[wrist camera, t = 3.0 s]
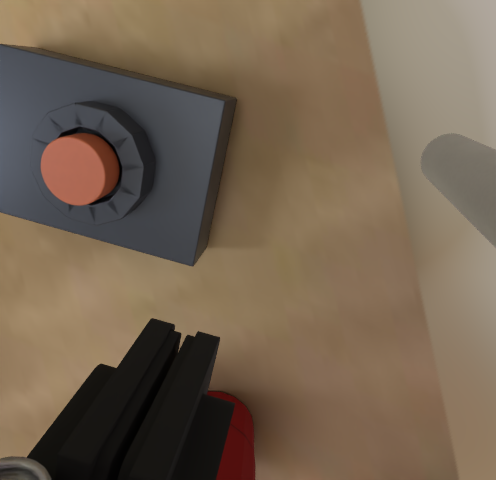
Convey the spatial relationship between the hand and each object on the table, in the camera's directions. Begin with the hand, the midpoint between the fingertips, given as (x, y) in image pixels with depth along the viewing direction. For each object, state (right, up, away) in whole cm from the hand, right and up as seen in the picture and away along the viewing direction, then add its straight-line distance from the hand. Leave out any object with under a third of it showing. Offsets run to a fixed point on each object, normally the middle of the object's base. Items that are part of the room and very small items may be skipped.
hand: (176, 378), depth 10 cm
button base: (-6, +9, +18) cm, 21 cm away
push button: (-7, +7, +14) cm, 17 cm away
